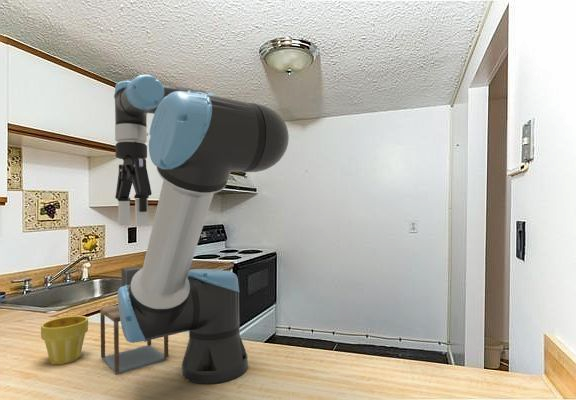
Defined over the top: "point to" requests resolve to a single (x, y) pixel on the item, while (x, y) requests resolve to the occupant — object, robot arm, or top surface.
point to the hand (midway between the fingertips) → (132, 225)
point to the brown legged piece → (114, 315)
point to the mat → (135, 358)
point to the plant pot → (64, 338)
